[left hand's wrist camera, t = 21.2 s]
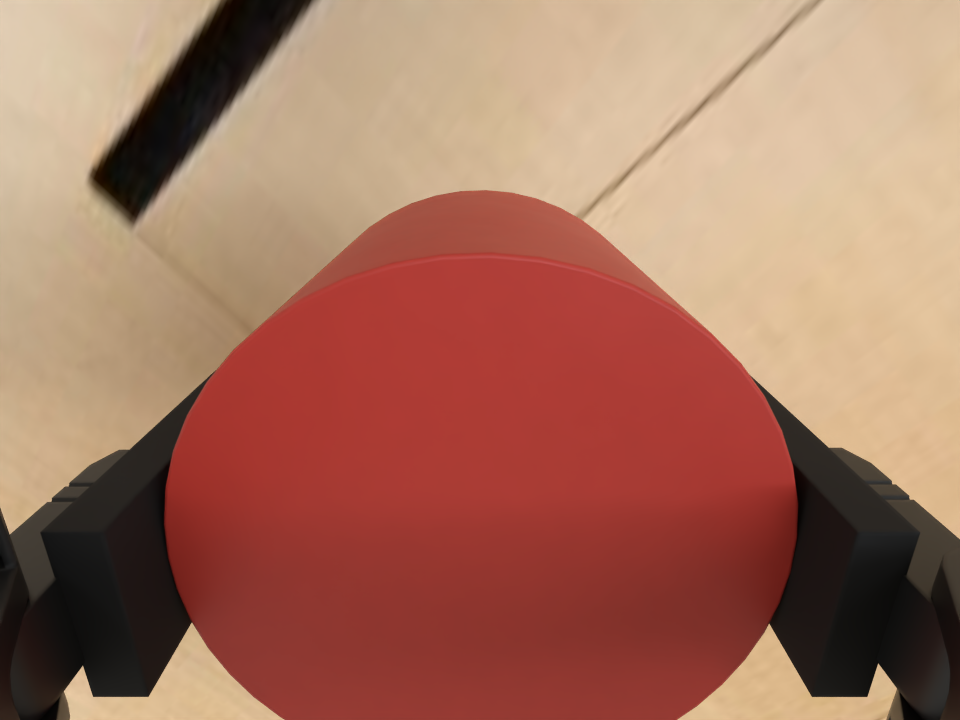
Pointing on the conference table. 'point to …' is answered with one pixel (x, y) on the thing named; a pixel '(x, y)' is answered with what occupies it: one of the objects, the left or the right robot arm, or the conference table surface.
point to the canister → (481, 484)
